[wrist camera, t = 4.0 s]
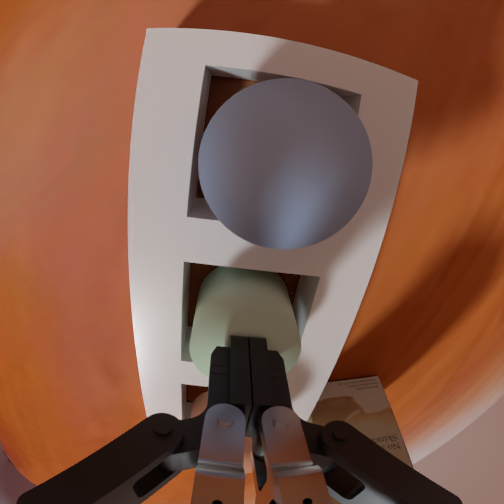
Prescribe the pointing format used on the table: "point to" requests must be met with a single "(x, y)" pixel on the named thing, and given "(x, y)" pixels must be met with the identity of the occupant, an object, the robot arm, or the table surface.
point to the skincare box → (361, 413)
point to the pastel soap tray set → (221, 238)
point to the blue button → (285, 163)
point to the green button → (243, 314)
